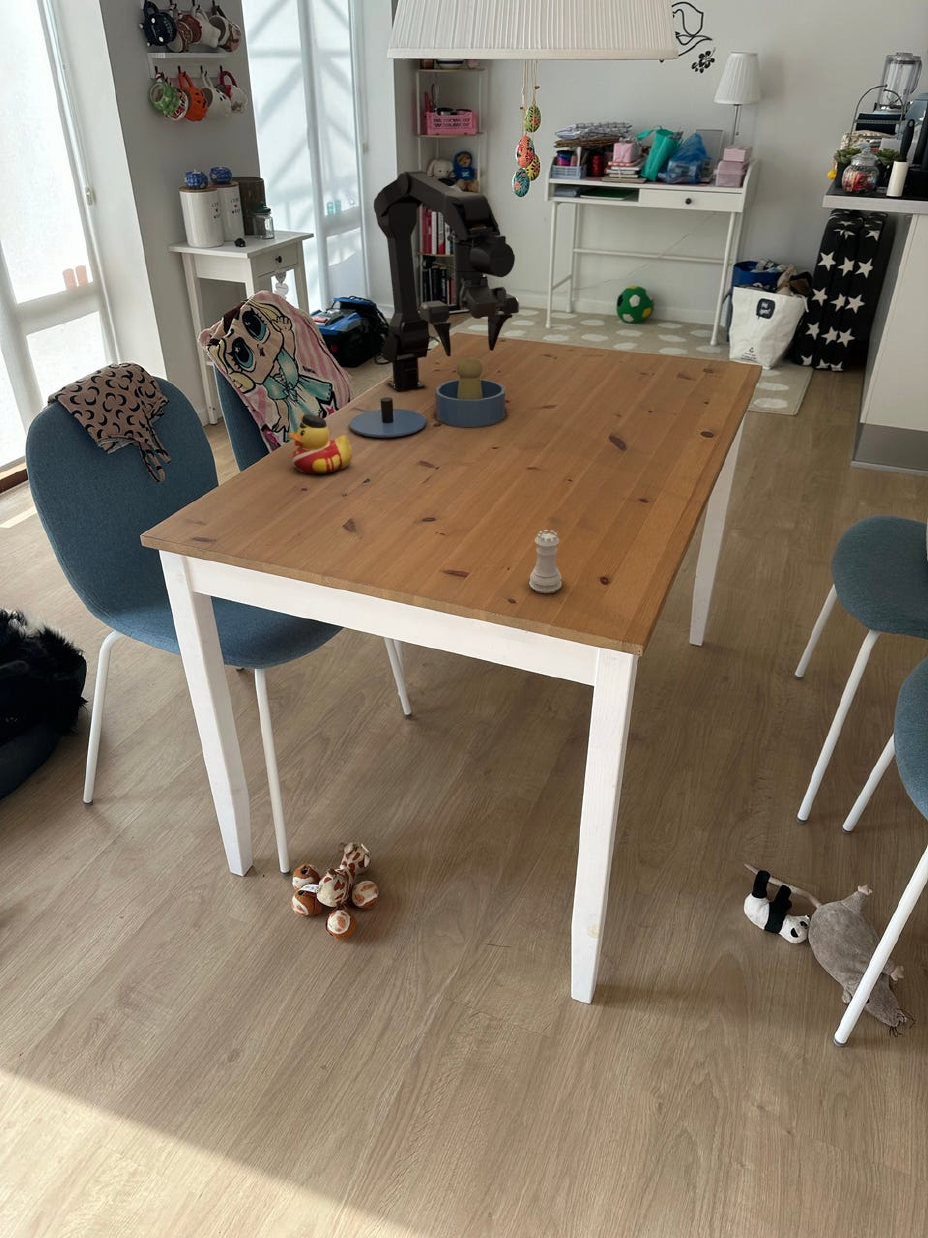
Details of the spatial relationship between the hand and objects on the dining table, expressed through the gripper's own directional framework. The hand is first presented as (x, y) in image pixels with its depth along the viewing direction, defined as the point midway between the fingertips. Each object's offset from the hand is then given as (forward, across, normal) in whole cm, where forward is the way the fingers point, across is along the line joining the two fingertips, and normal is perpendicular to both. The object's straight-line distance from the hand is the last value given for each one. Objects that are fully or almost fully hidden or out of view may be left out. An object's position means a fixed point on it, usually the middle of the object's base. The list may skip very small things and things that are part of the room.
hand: (470, 353), depth 173 cm
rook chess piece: (+13, -19, -68) cm, 72 cm away
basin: (+13, 0, 0) cm, 13 cm away
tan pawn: (+12, 0, 0) cm, 12 cm away
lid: (+12, -18, +1) cm, 21 cm away
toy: (+13, -35, -14) cm, 40 cm away
